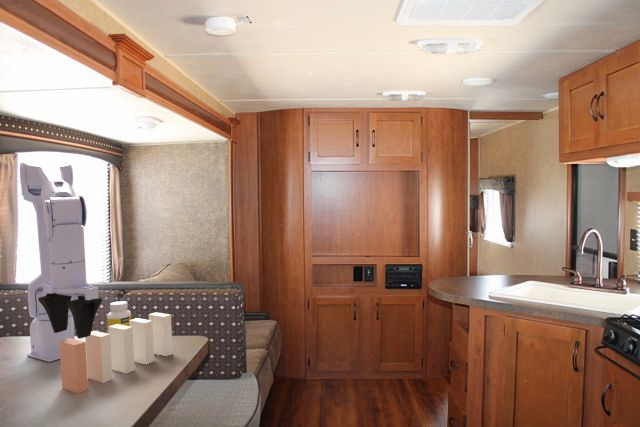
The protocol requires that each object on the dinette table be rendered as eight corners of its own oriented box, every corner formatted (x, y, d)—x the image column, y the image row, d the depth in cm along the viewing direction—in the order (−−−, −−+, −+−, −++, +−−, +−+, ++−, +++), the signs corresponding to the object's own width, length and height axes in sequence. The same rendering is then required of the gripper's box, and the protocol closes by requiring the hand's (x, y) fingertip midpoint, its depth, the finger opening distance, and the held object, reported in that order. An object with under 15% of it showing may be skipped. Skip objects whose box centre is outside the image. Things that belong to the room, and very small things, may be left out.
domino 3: (146, 364, 95) (144, 323, 94) (131, 361, 97) (129, 320, 97) (154, 361, 96) (152, 320, 96) (139, 357, 99) (137, 317, 99)
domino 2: (125, 373, 90) (123, 329, 90) (110, 369, 93) (108, 326, 93) (134, 370, 92) (132, 327, 92) (119, 365, 95) (116, 323, 94)
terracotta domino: (77, 393, 82) (74, 345, 81) (62, 388, 84) (59, 341, 84) (88, 389, 83) (85, 342, 83) (72, 384, 86) (70, 338, 86)
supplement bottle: (123, 346, 107) (121, 305, 106) (103, 345, 108) (101, 305, 108) (136, 339, 112) (135, 300, 112) (117, 338, 113) (115, 299, 113)
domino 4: (165, 357, 99) (163, 317, 99) (150, 353, 102) (148, 314, 101) (172, 354, 101) (170, 314, 100) (157, 350, 103) (155, 312, 103)
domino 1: (103, 383, 86) (100, 337, 86) (87, 378, 89) (85, 333, 88) (112, 379, 88) (110, 334, 87) (97, 374, 90) (94, 330, 90)
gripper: (24, 262, 83) (28, 334, 84) (69, 267, 76) (73, 346, 76) (62, 257, 89) (66, 324, 90) (107, 261, 82) (111, 334, 82)
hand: (72, 334), depth 83 cm, fingers open, 7 cm apart
